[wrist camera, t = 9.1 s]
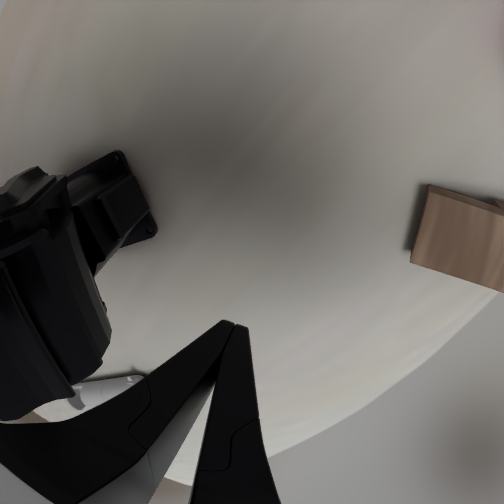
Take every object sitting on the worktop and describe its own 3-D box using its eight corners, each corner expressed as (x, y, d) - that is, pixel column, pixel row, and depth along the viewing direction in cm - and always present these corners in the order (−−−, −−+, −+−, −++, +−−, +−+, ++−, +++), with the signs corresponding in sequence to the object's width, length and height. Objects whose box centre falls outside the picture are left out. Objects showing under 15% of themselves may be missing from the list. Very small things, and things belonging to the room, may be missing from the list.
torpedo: (88, 398, 37) (70, 435, 31) (64, 376, 35) (43, 413, 29) (187, 386, 31) (171, 438, 25) (160, 357, 29) (138, 411, 24)
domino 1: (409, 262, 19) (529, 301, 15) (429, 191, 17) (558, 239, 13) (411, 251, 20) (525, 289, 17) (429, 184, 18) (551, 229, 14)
